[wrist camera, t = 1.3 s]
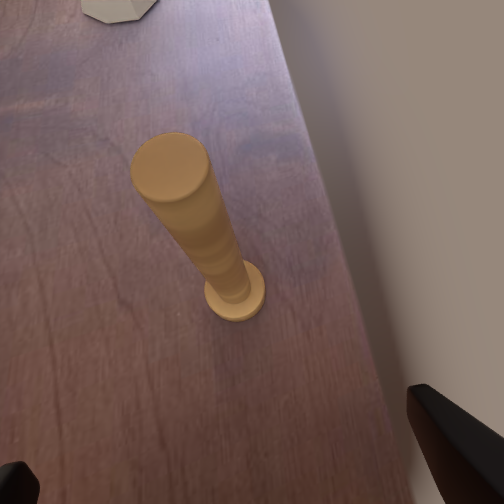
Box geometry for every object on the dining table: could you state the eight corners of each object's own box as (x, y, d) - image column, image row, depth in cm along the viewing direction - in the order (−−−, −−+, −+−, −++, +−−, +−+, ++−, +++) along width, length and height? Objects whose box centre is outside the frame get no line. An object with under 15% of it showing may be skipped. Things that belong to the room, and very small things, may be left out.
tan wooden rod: (270, 315, 22) (254, 215, 8) (213, 327, 22) (99, 246, 8) (259, 261, 23) (229, 93, 9) (205, 271, 23) (95, 120, 9)
